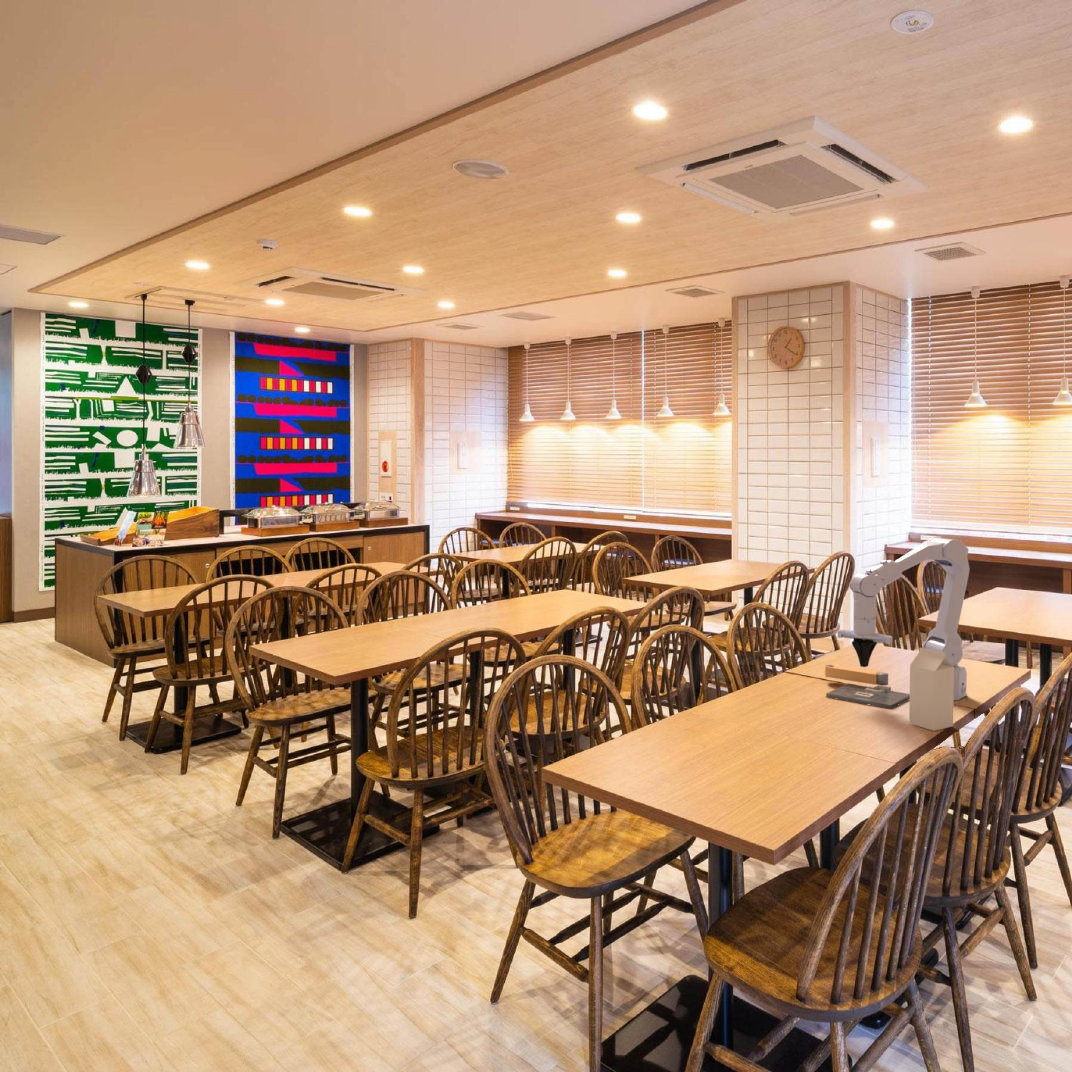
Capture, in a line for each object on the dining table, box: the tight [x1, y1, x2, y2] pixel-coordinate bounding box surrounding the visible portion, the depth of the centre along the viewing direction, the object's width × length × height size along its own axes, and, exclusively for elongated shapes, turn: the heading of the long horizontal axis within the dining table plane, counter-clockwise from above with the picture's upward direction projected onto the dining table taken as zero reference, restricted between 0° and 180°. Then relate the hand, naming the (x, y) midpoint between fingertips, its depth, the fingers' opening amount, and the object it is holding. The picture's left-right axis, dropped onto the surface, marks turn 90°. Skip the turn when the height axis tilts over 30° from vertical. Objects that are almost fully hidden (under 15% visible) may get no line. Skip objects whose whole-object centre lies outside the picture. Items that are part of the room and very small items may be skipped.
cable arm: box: [824, 663, 889, 686], centre depth 242 cm, size 18×4×3 cm, turn 46°
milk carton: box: [908, 647, 955, 732], centre depth 204 cm, size 7×7×19 cm
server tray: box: [825, 683, 910, 710], centre depth 232 cm, size 18×18×2 cm
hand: (864, 666), depth 228 cm, fingers closed
